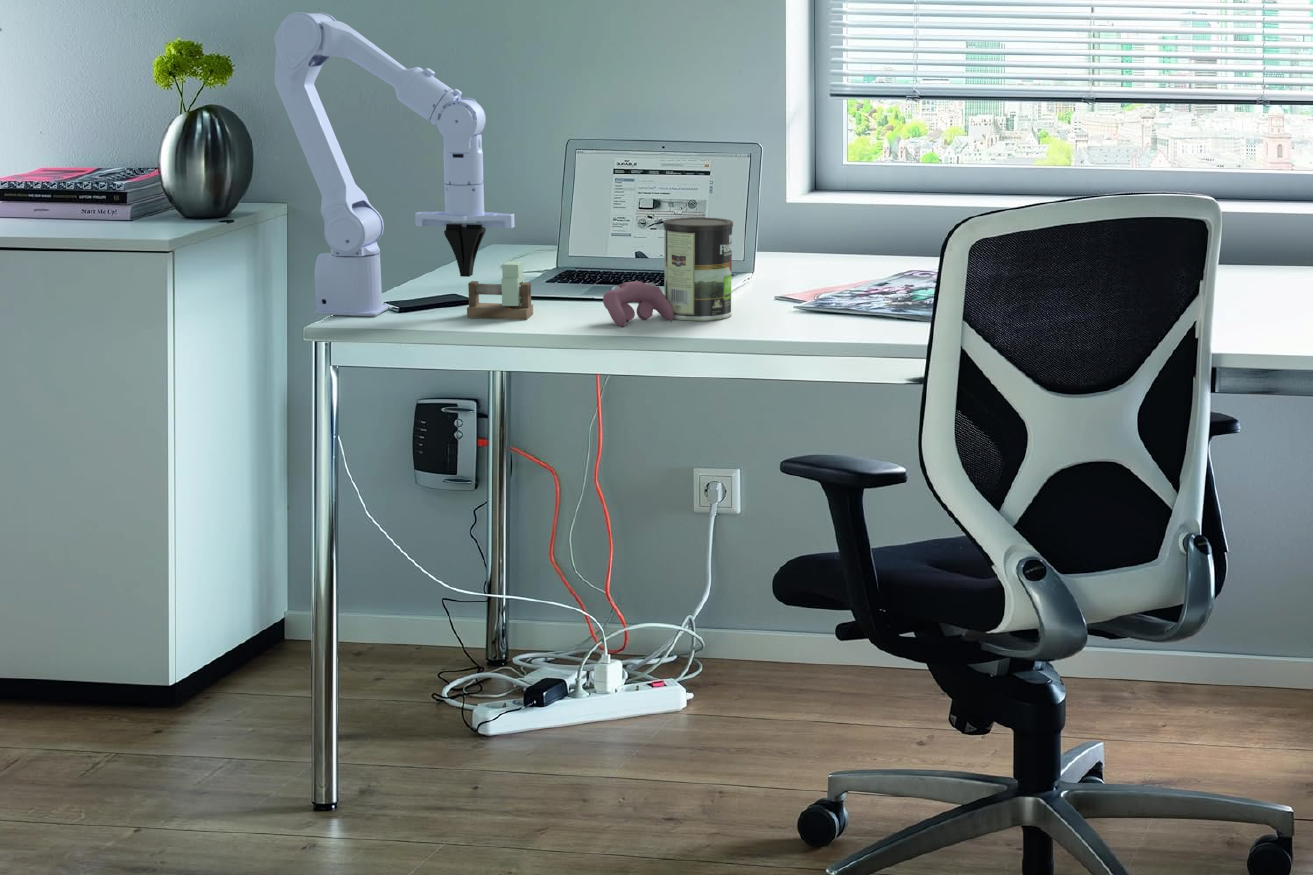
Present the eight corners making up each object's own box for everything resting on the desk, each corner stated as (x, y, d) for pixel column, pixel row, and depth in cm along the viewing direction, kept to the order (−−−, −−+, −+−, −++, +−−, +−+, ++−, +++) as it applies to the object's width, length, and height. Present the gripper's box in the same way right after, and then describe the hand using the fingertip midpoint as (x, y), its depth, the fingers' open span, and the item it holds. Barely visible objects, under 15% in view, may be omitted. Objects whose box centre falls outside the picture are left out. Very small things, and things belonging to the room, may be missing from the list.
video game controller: (662, 327, 232) (651, 283, 233) (678, 318, 228) (666, 273, 229) (606, 334, 226) (595, 289, 227) (621, 325, 223) (609, 279, 224)
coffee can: (736, 310, 237) (737, 217, 233) (725, 322, 227) (727, 226, 223) (670, 307, 239) (670, 215, 235) (656, 320, 229) (657, 224, 225)
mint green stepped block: (502, 305, 229) (501, 265, 227) (509, 300, 233) (508, 260, 232) (518, 306, 229) (517, 265, 227) (524, 300, 233) (523, 261, 231)
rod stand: (467, 317, 230) (466, 284, 229) (474, 312, 234) (473, 279, 233) (526, 319, 229) (525, 286, 228) (533, 314, 233) (532, 281, 232)
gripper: (407, 185, 224) (411, 278, 228) (505, 187, 222) (507, 281, 226) (421, 180, 231) (425, 271, 235) (517, 182, 229) (518, 273, 233)
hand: (466, 275), depth 231 cm, fingers closed
